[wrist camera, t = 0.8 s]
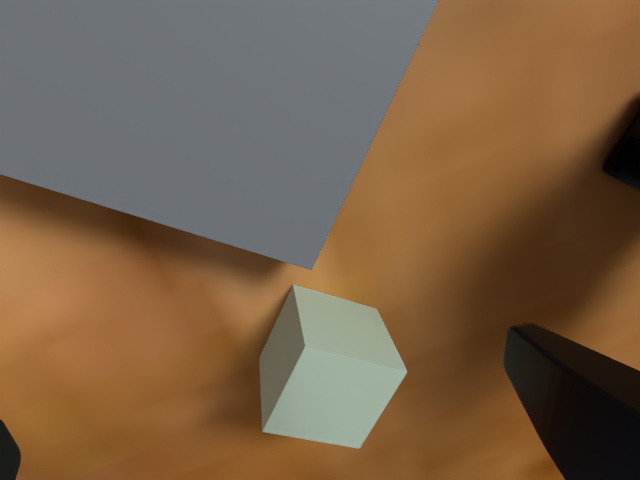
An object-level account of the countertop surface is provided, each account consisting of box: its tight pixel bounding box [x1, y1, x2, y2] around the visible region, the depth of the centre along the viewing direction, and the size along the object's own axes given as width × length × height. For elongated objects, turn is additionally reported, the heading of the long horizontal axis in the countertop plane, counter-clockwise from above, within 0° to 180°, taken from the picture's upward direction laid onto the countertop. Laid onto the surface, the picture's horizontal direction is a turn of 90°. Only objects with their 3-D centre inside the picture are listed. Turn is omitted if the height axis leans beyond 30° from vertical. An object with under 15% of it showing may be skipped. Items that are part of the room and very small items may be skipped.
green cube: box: [259, 285, 408, 449], centre depth 21 cm, size 5×5×5 cm
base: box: [0, 0, 439, 270], centre depth 15 cm, size 14×14×3 cm
